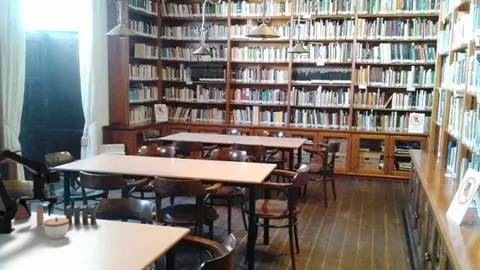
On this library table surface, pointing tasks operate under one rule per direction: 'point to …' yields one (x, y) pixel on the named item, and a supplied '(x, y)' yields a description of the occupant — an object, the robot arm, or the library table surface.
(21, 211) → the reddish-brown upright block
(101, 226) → the library table surface
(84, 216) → the domino
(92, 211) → the domino
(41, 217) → the domino
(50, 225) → the lidded jar
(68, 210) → the domino
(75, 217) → the domino
